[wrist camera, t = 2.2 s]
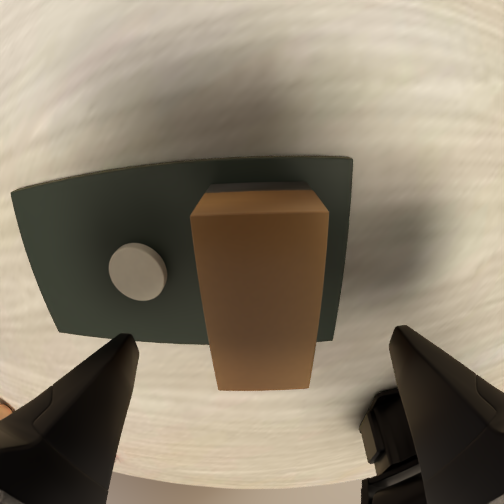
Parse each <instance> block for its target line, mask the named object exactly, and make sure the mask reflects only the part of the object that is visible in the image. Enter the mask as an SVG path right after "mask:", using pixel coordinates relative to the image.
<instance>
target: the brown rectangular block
mask: <svg viewBox="0 0 504 504" xmlns="http://www.w3.org/2000/svg"><path fill="white" fill-rule="evenodd" d="M190 222H191V230H192V238H193V246H194V253H195V260H196V267H197V274H198V280H199V287H200V293H201V300H202V306H203V312H204V318H205V323H206V329H207V335H208V340H209V345H210V351H211V356H212V361H213V366H214V371H215V376H216V381H217V386H218V390H223V391H264V390H289V389H305V388H309V384H310V378H311V372H312V366H313V360H314V354H315V347H316V340H317V333H318V325H319V318H320V310H321V301H322V292H323V283H324V273H325V263H326V251H327V238H328V224H329V211H328V210H327V208H326V207H325V206H324V204H323V203H322V201H321V200H320V199H319V197H318V196H317V195H316V193H315V192H314V191H313V190H312V189H311V187H310V186H309V185H308V183H307V182H250V183H226V184H212V185H210V186H209V188H208V189H207V191H206V193H205V194H204V195H203V196H202V198H201V199H200V201H199V202H198V204H197V206H196V207H195V209H194V210H193V212H192V213H191V215H190Z"/></svg>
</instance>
